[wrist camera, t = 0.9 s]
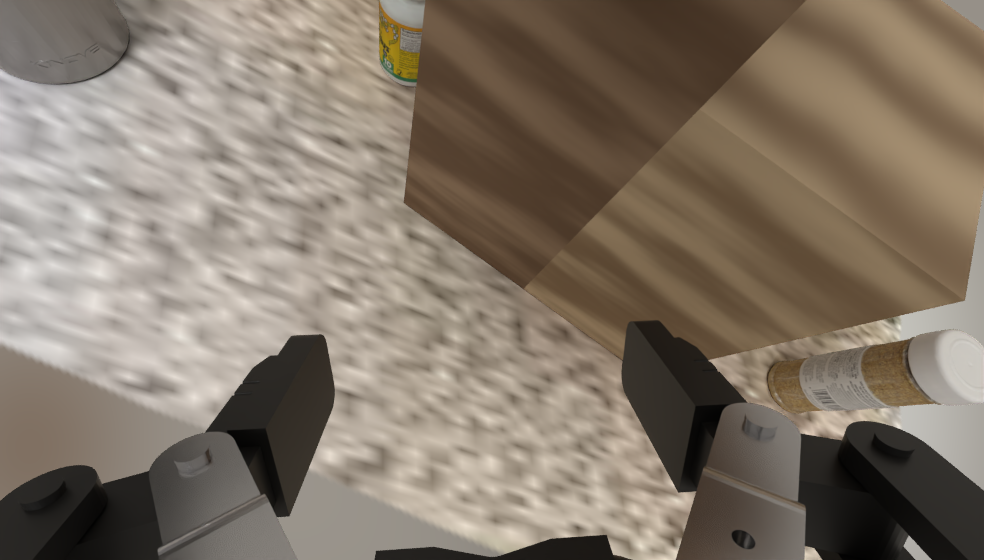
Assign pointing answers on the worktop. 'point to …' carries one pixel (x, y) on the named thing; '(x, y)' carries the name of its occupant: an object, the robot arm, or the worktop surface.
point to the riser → (706, 159)
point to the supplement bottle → (400, 39)
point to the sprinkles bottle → (884, 375)
